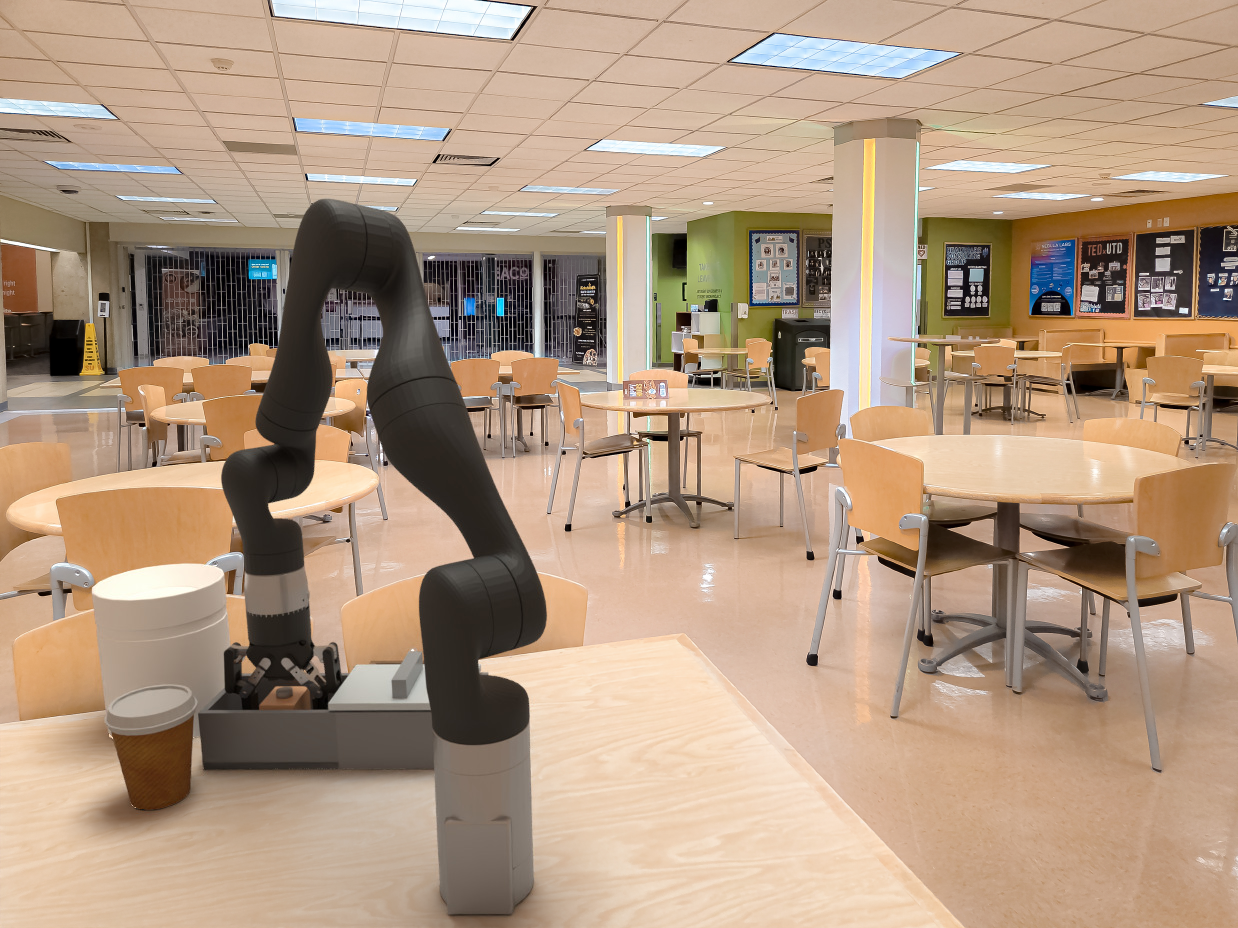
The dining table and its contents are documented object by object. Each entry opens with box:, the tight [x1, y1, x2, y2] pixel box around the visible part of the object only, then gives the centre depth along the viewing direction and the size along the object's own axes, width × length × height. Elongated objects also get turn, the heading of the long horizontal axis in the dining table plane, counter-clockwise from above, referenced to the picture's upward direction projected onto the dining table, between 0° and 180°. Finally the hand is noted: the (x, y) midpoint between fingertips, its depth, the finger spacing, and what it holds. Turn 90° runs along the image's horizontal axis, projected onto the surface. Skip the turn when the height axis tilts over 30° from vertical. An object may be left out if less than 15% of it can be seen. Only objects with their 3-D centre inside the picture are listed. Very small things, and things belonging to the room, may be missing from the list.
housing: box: [198, 671, 490, 771], centre depth 114 cm, size 12×35×8 cm, turn 90°
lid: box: [328, 650, 482, 710], centre depth 113 cm, size 12×17×3 cm
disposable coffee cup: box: [104, 684, 198, 811], centre depth 103 cm, size 10×10×12 cm
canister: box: [91, 563, 231, 738], centre depth 121 cm, size 16×16×20 cm
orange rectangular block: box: [259, 686, 311, 710], centre depth 114 cm, size 6×4×7 cm
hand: (286, 721), depth 114 cm, fingers open, 8 cm apart
